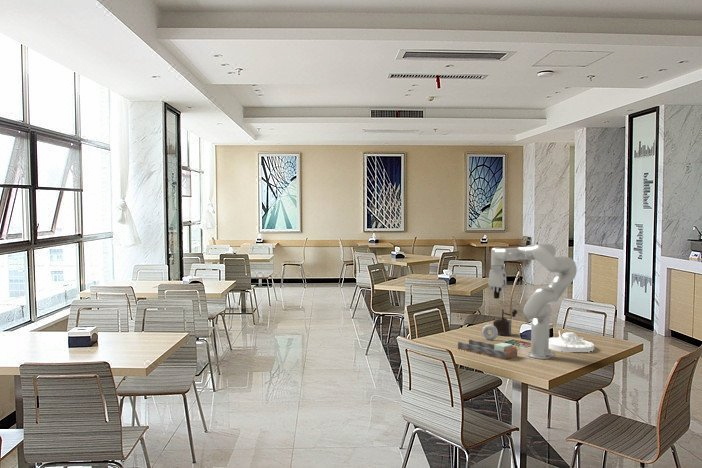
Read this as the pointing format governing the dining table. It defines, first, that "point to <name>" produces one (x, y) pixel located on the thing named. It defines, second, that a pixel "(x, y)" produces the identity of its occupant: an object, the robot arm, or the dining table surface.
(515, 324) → the dining table surface
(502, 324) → the brown coffee grinder
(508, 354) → the track
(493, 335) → the donut
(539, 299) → the robot arm
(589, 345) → the cake
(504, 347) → the sliding block
